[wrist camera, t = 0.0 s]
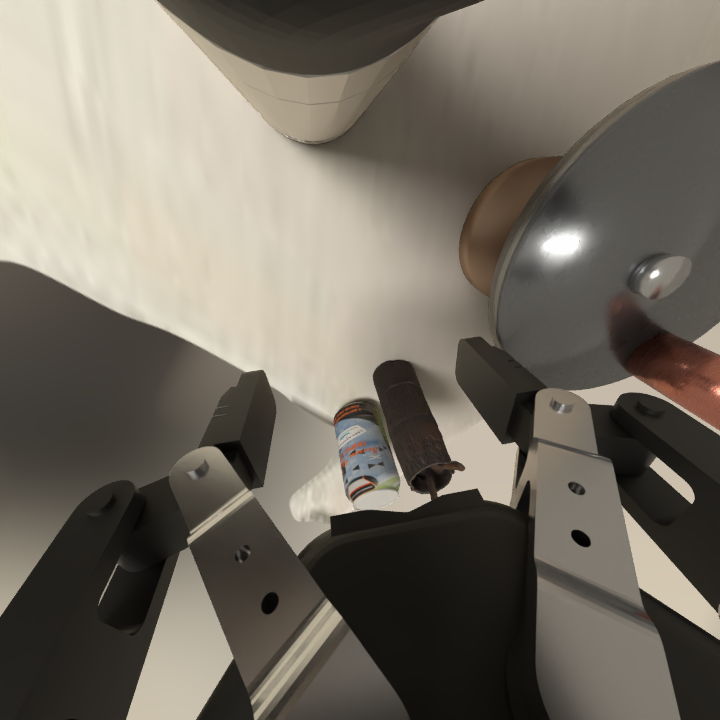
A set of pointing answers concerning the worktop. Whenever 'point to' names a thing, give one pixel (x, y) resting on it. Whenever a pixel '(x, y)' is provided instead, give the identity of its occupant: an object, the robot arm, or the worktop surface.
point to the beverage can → (365, 457)
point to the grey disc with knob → (623, 252)
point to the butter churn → (413, 429)
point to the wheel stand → (498, 218)
